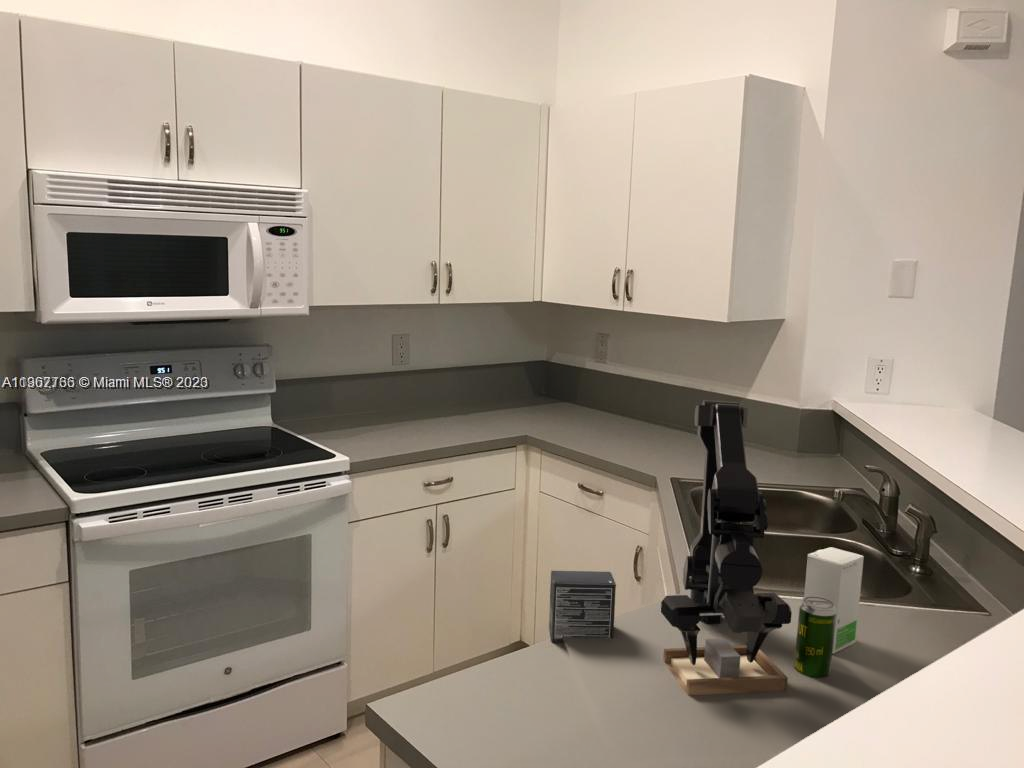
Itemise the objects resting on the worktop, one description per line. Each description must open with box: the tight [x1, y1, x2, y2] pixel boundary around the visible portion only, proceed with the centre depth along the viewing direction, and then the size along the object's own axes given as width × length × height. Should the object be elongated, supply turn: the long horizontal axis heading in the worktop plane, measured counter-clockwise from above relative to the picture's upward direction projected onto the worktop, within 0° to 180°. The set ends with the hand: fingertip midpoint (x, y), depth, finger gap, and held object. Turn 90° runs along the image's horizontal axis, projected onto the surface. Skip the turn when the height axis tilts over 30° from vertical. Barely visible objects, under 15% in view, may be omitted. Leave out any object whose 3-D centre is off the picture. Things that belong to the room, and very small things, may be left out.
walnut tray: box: [662, 644, 789, 696], centre depth 129 cm, size 11×15×3 cm
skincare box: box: [803, 546, 865, 655], centre depth 143 cm, size 8×7×16 cm
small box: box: [548, 570, 617, 644], centre depth 142 cm, size 11×6×10 cm, turn 92°
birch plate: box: [671, 637, 769, 686], centre depth 129 cm, size 8×13×4 cm, turn 100°
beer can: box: [793, 596, 836, 679], centre depth 131 cm, size 5×5×12 cm
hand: (721, 662), depth 129 cm, fingers open, 9 cm apart
